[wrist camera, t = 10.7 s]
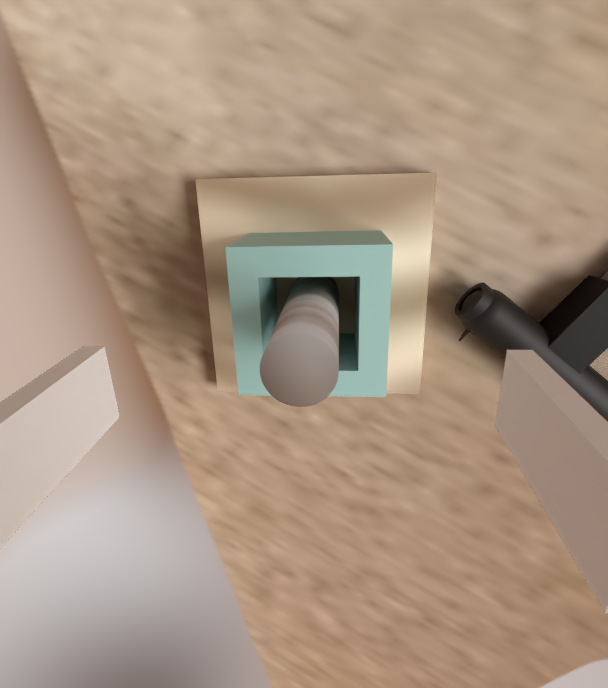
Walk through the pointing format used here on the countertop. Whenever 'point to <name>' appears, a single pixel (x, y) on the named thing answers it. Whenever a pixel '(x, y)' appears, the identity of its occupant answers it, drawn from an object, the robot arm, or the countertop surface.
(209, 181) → the peg stand
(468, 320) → the black toy gun
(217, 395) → the countertop surface
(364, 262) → the collar
